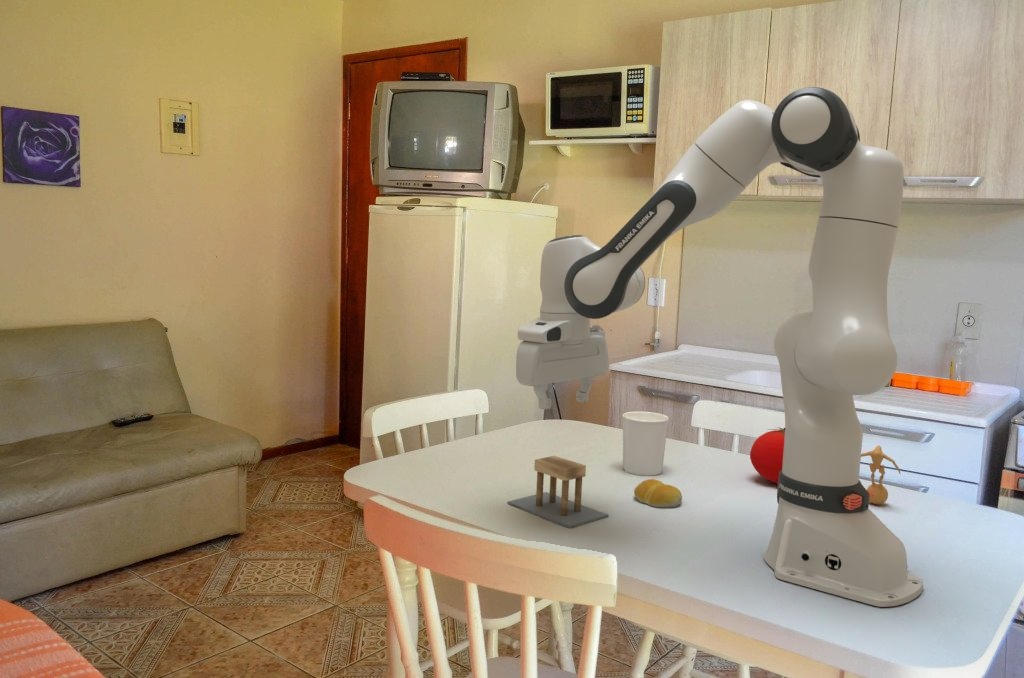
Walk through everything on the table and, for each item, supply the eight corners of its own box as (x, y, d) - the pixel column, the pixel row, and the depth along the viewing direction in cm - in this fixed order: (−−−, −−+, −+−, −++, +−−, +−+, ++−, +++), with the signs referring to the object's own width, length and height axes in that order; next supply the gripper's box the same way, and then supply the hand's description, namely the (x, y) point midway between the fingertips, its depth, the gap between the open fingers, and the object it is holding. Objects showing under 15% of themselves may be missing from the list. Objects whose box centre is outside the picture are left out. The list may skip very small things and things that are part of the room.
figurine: (901, 506, 159) (907, 446, 157) (893, 513, 154) (899, 451, 153) (856, 497, 164) (862, 438, 163) (847, 503, 159) (853, 443, 158)
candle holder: (672, 469, 179) (675, 415, 178) (654, 479, 171) (658, 423, 169) (630, 461, 184) (633, 409, 183) (611, 471, 176) (614, 416, 174)
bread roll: (664, 512, 151) (665, 491, 150) (626, 499, 157) (628, 479, 157) (691, 504, 156) (692, 483, 156) (654, 492, 163) (655, 472, 162)
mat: (608, 516, 146) (608, 514, 146) (569, 528, 140) (569, 526, 140) (546, 494, 158) (546, 492, 158) (507, 503, 151) (507, 501, 151)
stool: (552, 499, 153) (554, 455, 152) (583, 511, 148) (585, 465, 146) (532, 504, 150) (534, 459, 149) (564, 516, 144) (566, 469, 143)
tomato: (816, 495, 164) (821, 439, 163) (745, 485, 169) (749, 431, 168) (818, 479, 176) (822, 427, 174) (751, 470, 181) (755, 419, 179)
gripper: (591, 322, 154) (590, 395, 156) (510, 330, 141) (510, 410, 142) (617, 325, 149) (616, 400, 151) (535, 333, 136) (535, 415, 138)
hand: (564, 405), depth 147 cm, fingers open, 8 cm apart
